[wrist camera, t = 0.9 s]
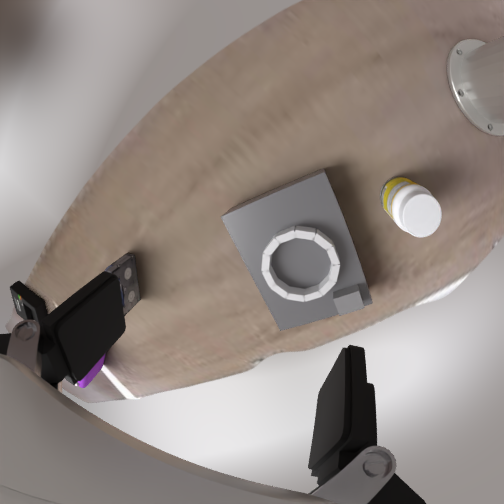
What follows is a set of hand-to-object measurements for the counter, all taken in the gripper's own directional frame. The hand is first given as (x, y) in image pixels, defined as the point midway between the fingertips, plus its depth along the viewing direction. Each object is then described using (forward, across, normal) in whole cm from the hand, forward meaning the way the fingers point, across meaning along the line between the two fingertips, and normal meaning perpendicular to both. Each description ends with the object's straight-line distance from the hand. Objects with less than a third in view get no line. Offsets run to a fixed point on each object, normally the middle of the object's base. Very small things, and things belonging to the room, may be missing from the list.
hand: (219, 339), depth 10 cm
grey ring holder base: (+24, -3, +6) cm, 24 cm away
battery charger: (+23, +58, +38) cm, 73 cm away
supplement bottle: (+24, -12, -4) cm, 27 cm away
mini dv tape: (+23, +21, +17) cm, 36 cm away
